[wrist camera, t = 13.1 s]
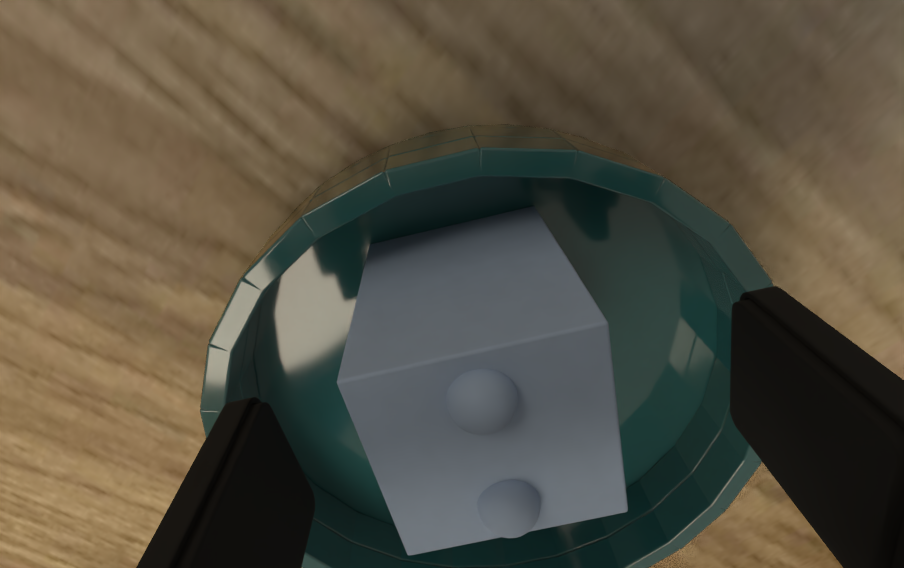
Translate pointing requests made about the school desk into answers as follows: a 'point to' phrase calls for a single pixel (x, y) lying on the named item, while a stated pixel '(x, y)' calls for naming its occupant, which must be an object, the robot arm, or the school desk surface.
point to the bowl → (605, 277)
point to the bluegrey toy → (482, 384)
